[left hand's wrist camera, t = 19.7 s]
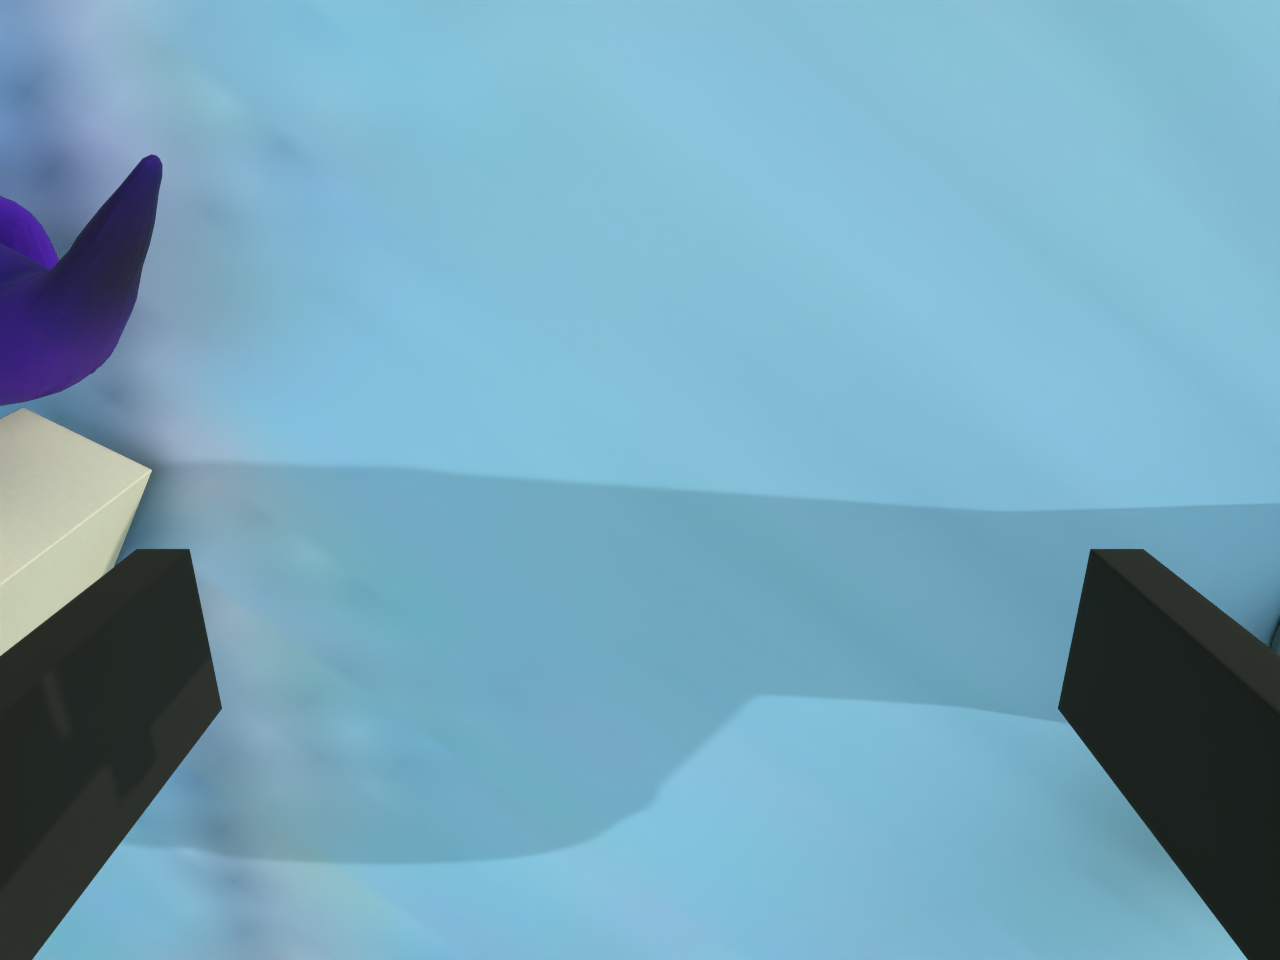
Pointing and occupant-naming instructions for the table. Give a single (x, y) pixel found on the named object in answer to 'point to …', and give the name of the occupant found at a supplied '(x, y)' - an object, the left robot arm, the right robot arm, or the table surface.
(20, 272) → the toy
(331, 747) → the table surface
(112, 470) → the box
